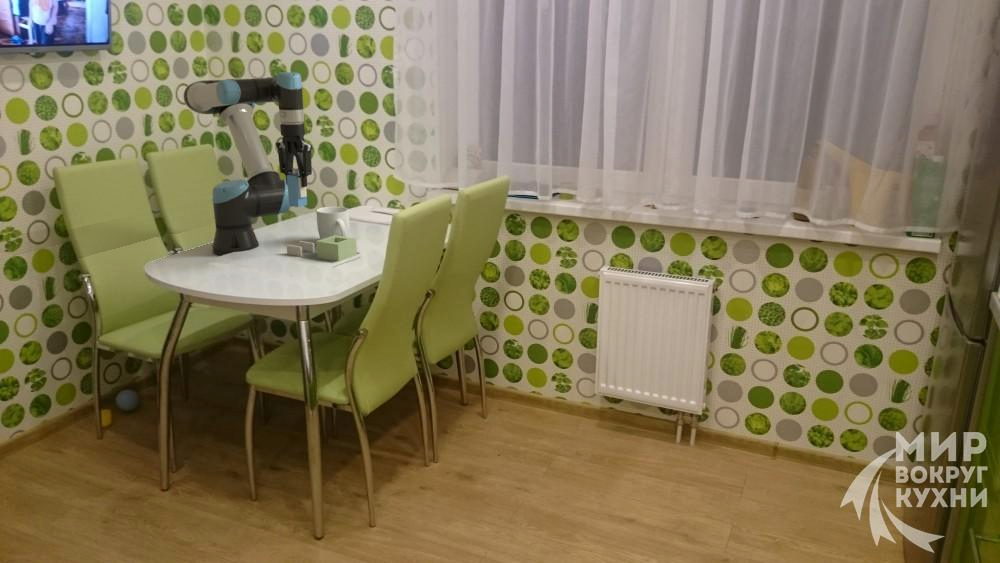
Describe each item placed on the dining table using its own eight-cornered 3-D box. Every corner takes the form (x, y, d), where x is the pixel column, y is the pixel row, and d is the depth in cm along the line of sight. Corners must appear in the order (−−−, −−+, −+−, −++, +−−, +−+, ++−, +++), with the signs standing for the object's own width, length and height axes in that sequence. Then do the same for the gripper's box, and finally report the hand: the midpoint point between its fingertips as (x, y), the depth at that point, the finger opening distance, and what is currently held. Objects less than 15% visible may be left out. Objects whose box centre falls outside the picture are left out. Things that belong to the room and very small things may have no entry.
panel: (286, 258, 266) (285, 245, 265) (315, 249, 278) (314, 236, 276) (332, 267, 257) (331, 253, 255) (360, 257, 268) (360, 244, 267)
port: (317, 257, 262) (316, 241, 261) (335, 251, 270) (334, 235, 268) (338, 261, 258) (337, 244, 256) (356, 254, 265) (356, 238, 264)
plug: (289, 205, 262) (286, 169, 258) (298, 203, 265) (295, 167, 262) (298, 207, 260) (295, 170, 256) (307, 205, 263) (304, 168, 260)
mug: (360, 250, 277) (358, 212, 273) (329, 254, 271) (327, 216, 267) (343, 240, 289) (341, 205, 285) (313, 245, 283) (311, 208, 279)
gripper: (263, 122, 256) (269, 195, 263) (304, 125, 248) (309, 200, 254) (281, 120, 262) (286, 191, 269) (320, 123, 254) (325, 196, 261)
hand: (297, 195), depth 262 cm, fingers closed on plug, 4 cm apart
